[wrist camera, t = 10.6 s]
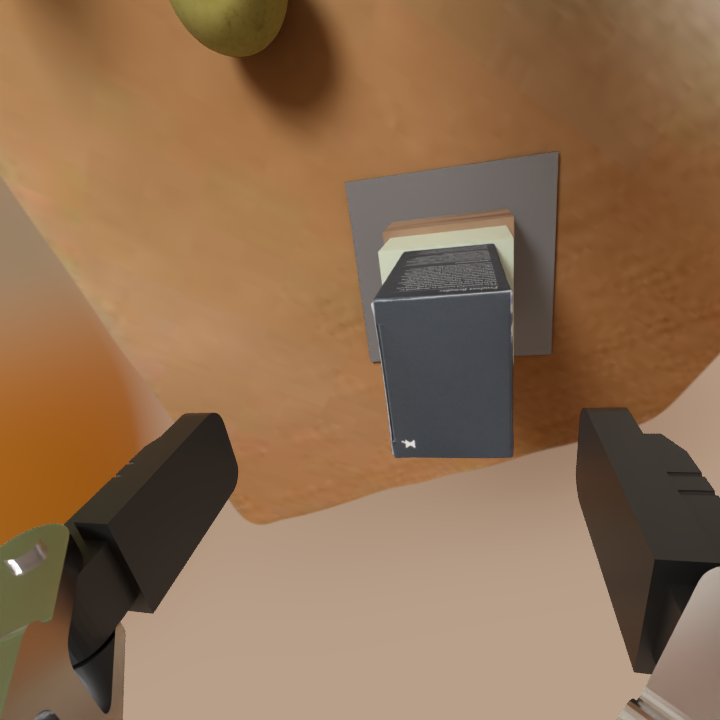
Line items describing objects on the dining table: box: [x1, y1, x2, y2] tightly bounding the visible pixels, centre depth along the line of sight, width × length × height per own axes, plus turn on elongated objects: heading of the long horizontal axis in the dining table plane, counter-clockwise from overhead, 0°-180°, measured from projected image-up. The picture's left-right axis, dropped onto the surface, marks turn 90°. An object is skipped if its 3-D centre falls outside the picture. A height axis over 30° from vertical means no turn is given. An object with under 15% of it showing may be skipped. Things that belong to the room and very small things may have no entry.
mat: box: [345, 151, 558, 362], centre depth 37 cm, size 16×16×1 cm
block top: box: [378, 225, 514, 363], centre depth 30 cm, size 8×8×5 cm
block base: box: [383, 208, 514, 245], centre depth 35 cm, size 9×9×5 cm
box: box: [371, 244, 514, 458], centre depth 23 cm, size 8×6×11 cm
